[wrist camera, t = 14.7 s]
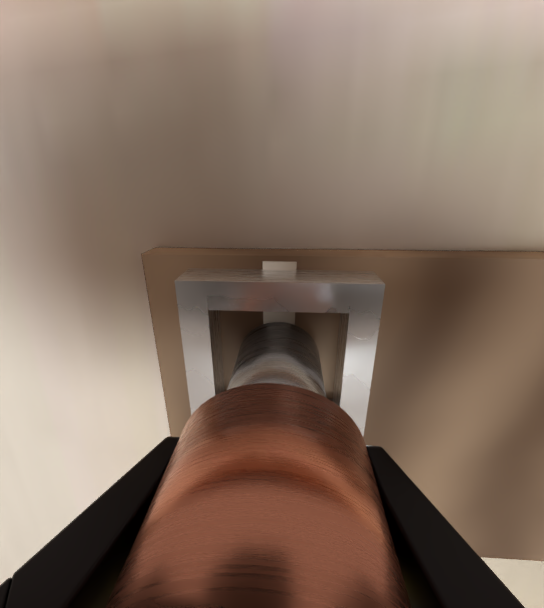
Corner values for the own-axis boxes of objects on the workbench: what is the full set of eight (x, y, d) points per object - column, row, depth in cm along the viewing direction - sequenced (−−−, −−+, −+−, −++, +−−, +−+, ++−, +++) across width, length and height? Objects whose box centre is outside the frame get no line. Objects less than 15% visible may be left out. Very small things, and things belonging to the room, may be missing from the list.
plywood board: (693, 253, 11) (743, 262, 10) (546, 537, 17) (566, 564, 16) (155, 247, 12) (140, 254, 11) (193, 516, 18) (186, 540, 17)
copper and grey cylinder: (343, 304, 10) (474, 608, 3) (334, 407, 12) (403, 770, 5) (216, 302, 11) (45, 577, 3) (224, 403, 12) (121, 741, 5)
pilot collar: (373, 271, 11) (385, 284, 9) (354, 418, 13) (362, 446, 12) (189, 268, 11) (174, 280, 10) (204, 412, 14) (194, 438, 12)
